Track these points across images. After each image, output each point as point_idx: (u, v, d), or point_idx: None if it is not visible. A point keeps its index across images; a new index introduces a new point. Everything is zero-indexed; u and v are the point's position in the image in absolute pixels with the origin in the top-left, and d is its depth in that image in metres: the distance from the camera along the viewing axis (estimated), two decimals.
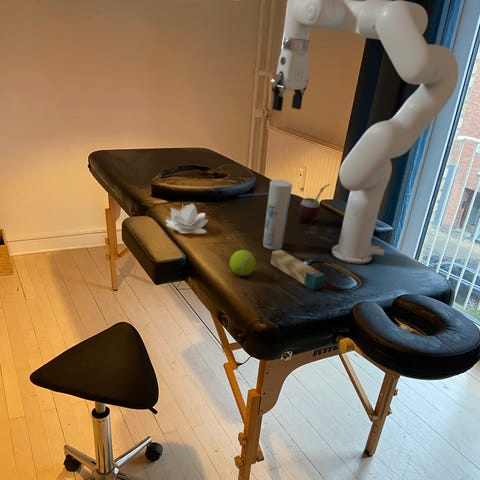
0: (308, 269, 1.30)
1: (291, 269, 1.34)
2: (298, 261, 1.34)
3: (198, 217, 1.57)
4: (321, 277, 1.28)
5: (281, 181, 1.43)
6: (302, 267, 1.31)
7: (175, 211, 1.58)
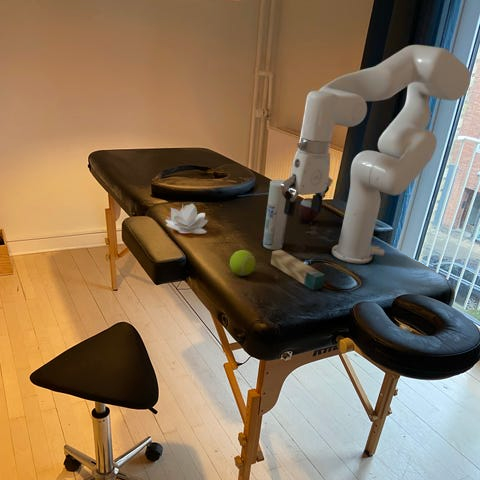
0: (308, 269, 1.30)
1: (291, 269, 1.34)
2: (298, 261, 1.34)
3: (198, 217, 1.57)
4: (321, 277, 1.28)
5: (281, 181, 1.43)
6: (302, 267, 1.31)
7: (175, 211, 1.58)
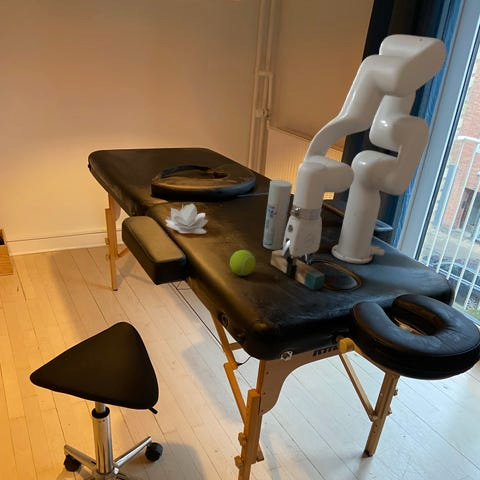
0: (308, 269, 1.30)
1: None
2: (298, 261, 1.34)
3: (198, 217, 1.57)
4: (321, 277, 1.28)
5: (281, 181, 1.43)
6: (302, 267, 1.31)
7: (175, 211, 1.58)
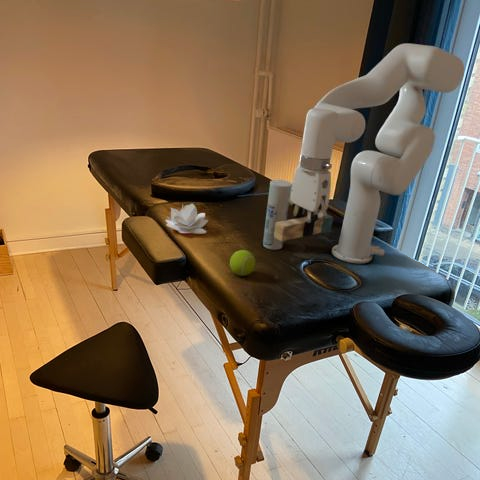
0: None
1: None
2: (302, 218, 1.27)
3: (198, 217, 1.57)
4: None
5: (281, 181, 1.43)
6: None
7: (175, 211, 1.58)
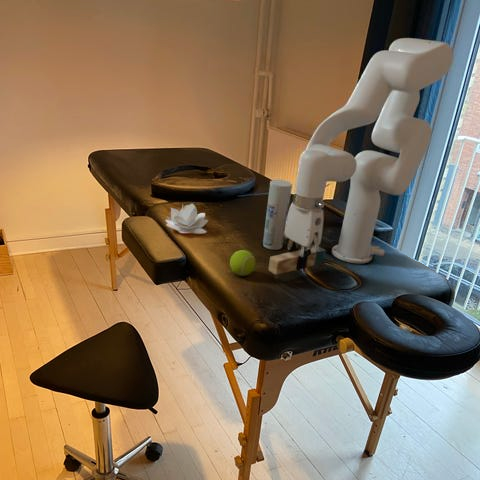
0: None
1: None
2: (295, 252, 1.32)
3: (198, 217, 1.57)
4: None
5: (281, 181, 1.43)
6: None
7: (175, 211, 1.58)
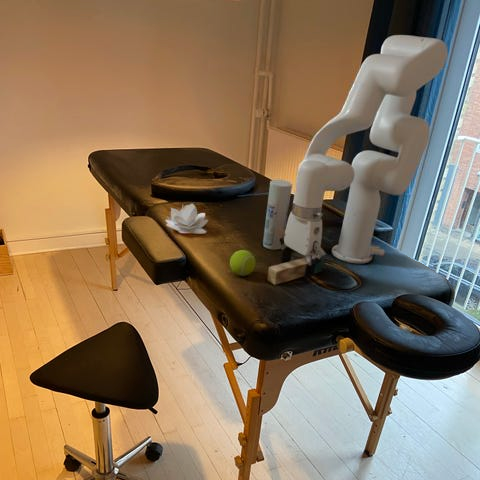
0: None
1: (298, 272, 1.33)
2: (294, 261, 1.33)
3: (198, 217, 1.57)
4: None
5: (281, 181, 1.43)
6: (306, 261, 1.34)
7: (175, 211, 1.58)
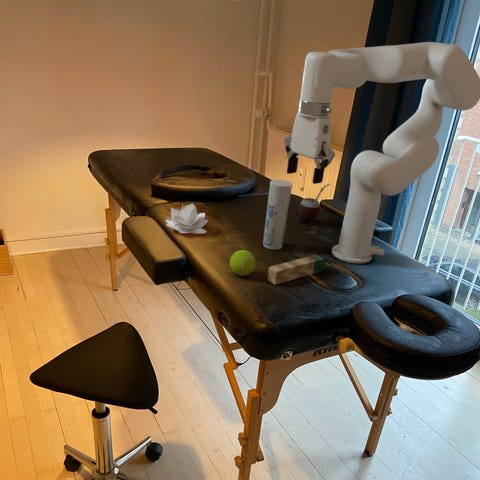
0: (309, 259, 1.36)
1: (298, 272, 1.33)
2: (294, 261, 1.33)
3: (198, 217, 1.57)
4: None
5: (281, 181, 1.43)
6: (306, 261, 1.34)
7: (175, 211, 1.58)
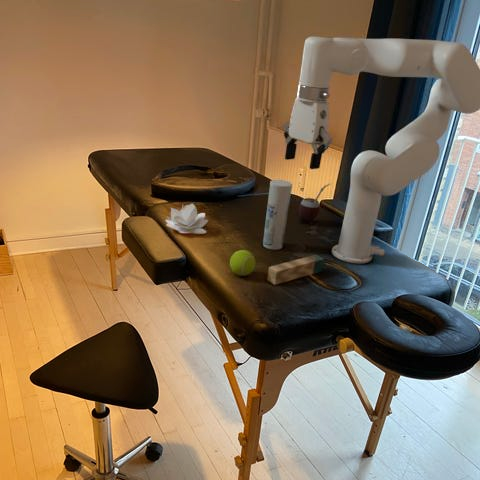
0: (309, 259, 1.36)
1: (298, 272, 1.33)
2: (294, 261, 1.33)
3: (198, 217, 1.57)
4: None
5: (281, 181, 1.43)
6: (306, 261, 1.34)
7: (175, 211, 1.58)
